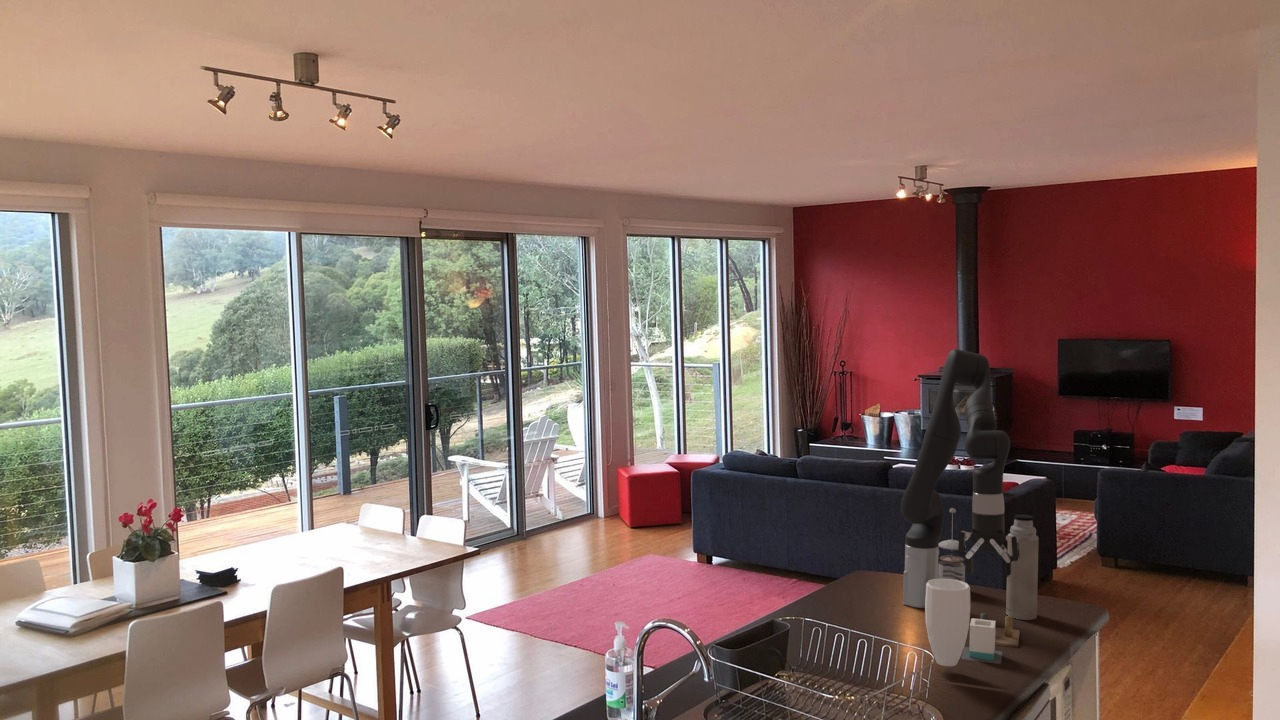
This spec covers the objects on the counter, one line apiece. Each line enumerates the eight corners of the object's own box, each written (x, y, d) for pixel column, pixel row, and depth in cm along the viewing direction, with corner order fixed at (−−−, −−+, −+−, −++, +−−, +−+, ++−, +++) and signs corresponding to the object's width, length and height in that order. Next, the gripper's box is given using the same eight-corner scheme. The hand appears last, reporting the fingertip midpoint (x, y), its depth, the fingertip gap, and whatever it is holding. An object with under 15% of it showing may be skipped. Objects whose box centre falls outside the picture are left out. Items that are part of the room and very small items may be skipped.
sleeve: (969, 657, 239) (969, 625, 239) (970, 649, 245) (971, 618, 244) (993, 660, 237) (994, 628, 237) (994, 652, 242) (995, 620, 242)
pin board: (971, 643, 250) (972, 620, 250) (975, 629, 262) (975, 606, 261) (1018, 649, 246) (1018, 625, 246) (1019, 634, 257) (1020, 611, 257)
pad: (961, 661, 239) (961, 658, 239) (964, 648, 247) (964, 646, 247) (1000, 666, 235) (1000, 663, 235) (1002, 653, 243) (1002, 651, 243)
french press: (970, 596, 291) (972, 512, 289) (929, 593, 293) (931, 510, 291) (966, 586, 300) (967, 505, 299) (926, 584, 303) (928, 504, 301)
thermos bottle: (1002, 610, 277) (1004, 512, 276) (1031, 611, 277) (1034, 512, 275) (1010, 619, 269) (1012, 518, 268) (1040, 620, 269) (1043, 519, 267)
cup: (933, 663, 237) (935, 575, 236) (976, 673, 231) (978, 583, 229) (915, 676, 229) (917, 585, 228) (959, 687, 223) (961, 593, 221)
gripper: (955, 510, 245) (956, 575, 246) (1015, 515, 238) (1016, 581, 239) (961, 505, 251) (962, 568, 252) (1020, 509, 244) (1021, 574, 245)
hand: (988, 574), depth 245 cm, fingers open, 8 cm apart
